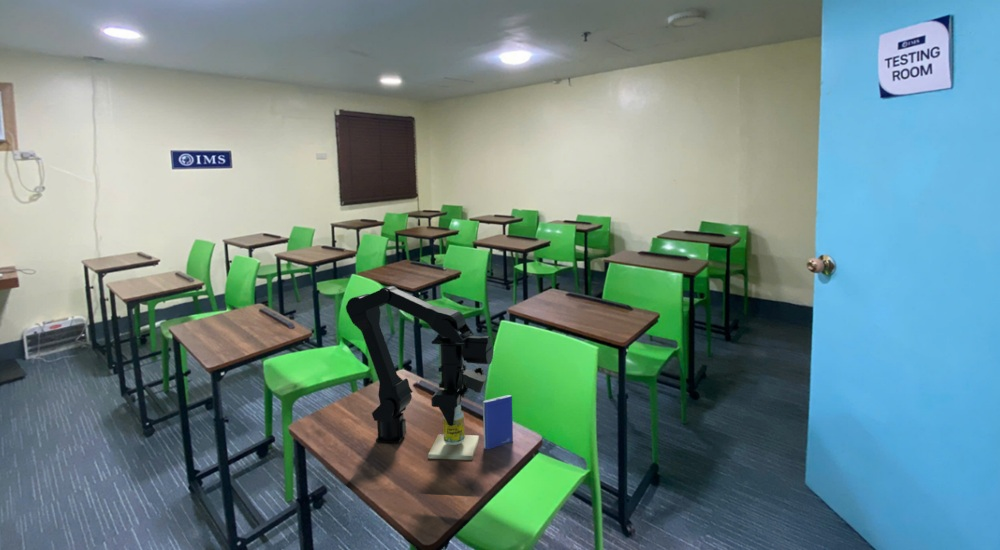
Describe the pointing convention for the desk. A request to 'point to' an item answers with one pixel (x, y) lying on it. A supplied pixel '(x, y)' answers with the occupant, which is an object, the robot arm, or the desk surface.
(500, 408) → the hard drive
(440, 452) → the birch board
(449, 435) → the supplement bottle
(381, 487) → the desk surface
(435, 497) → the desk surface
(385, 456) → the desk surface
